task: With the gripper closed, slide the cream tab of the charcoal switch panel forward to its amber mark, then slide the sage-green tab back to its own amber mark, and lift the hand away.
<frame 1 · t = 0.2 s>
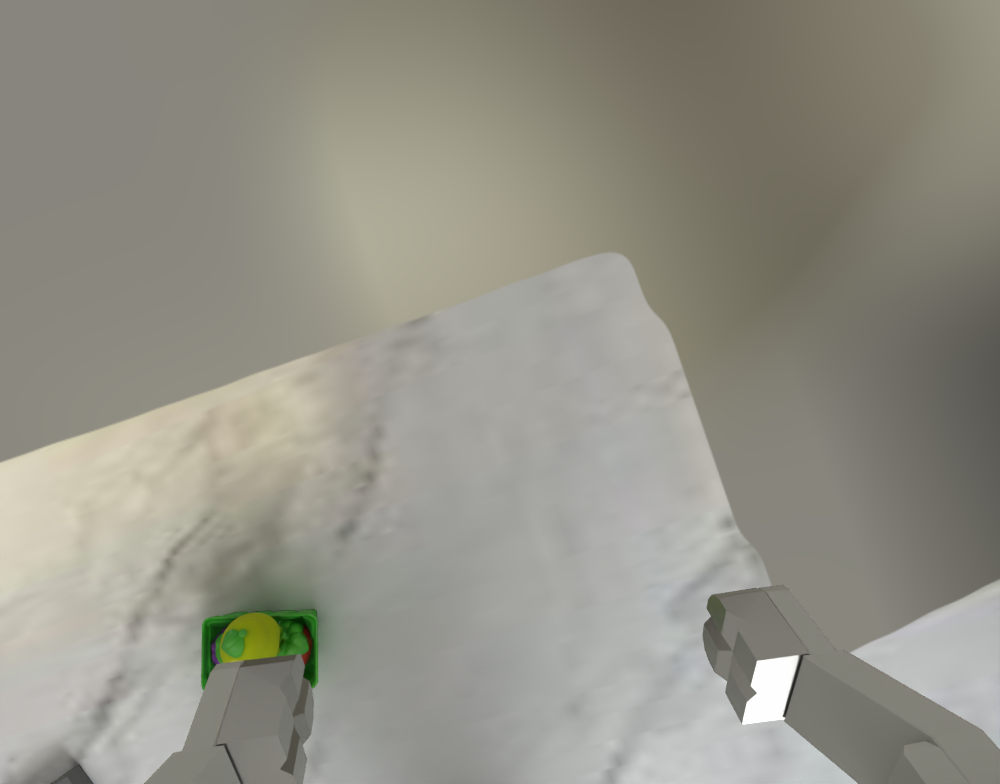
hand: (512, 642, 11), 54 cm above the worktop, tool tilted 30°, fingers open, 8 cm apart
fruit basket: (275, 627, 63), on the worktop
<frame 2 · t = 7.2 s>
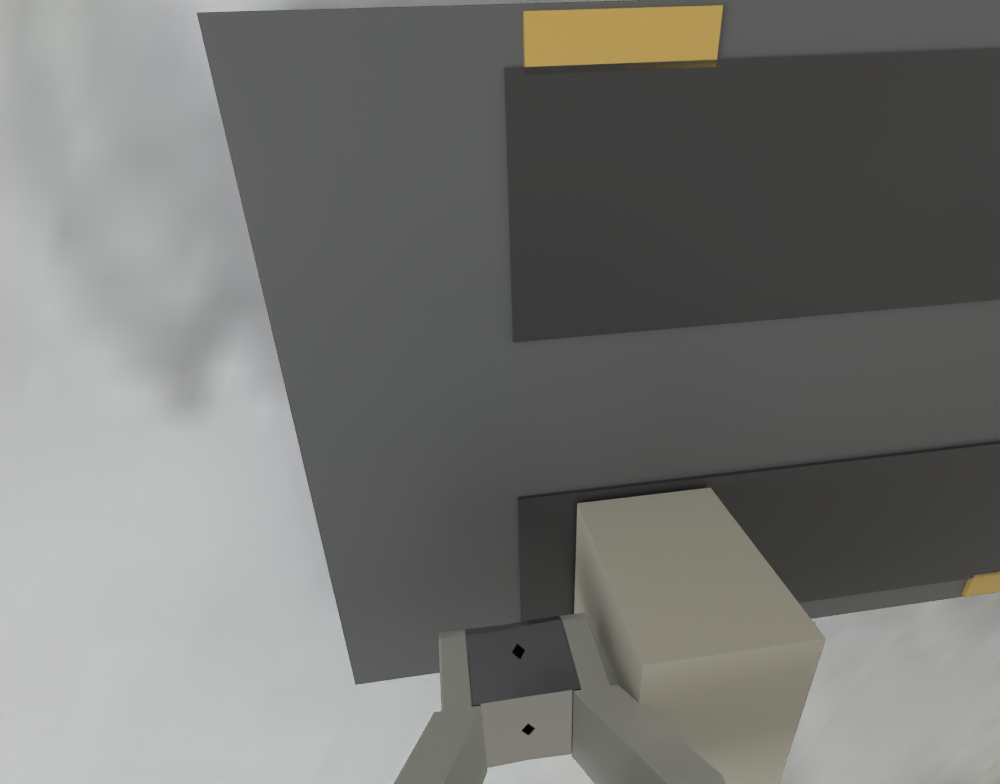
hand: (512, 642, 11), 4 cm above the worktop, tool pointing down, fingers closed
cream tab: (672, 634, 12), point 4 cm above the worktop, slide at 1.0 cm, touching gripper
switch panel: (818, 350, 14), on the worktop
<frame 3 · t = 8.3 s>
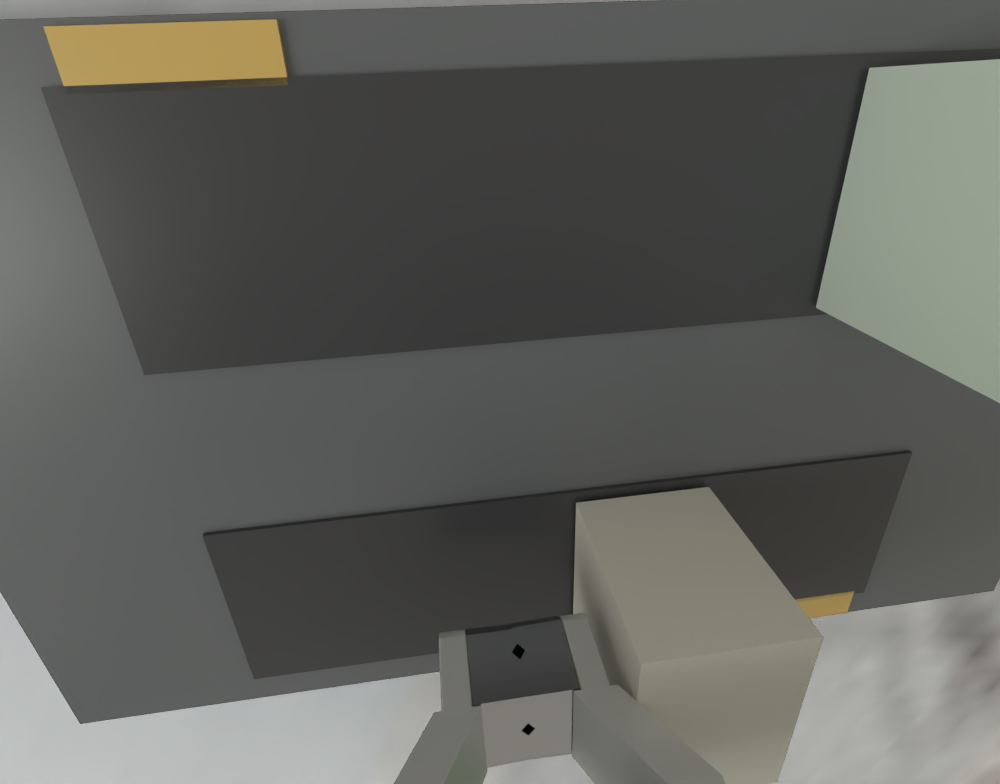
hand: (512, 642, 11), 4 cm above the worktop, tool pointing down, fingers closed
cream tab: (670, 633, 12), point 4 cm above the worktop, slide at 7.4 cm, touching gripper
switch panel: (558, 374, 13), on the worktop
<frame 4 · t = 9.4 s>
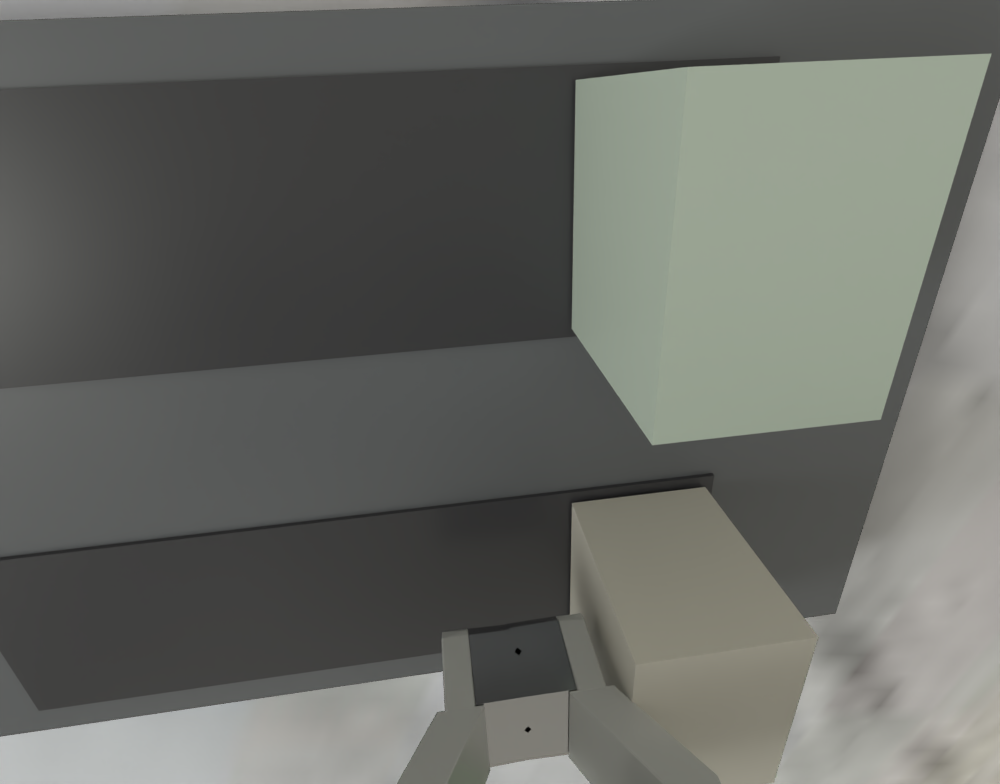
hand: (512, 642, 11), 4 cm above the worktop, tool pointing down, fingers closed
sage tab: (714, 234, 8), point 4 cm above the worktop, slide at 12.0 cm
cream tab: (666, 634, 12), point 4 cm above the worktop, slide at 12.1 cm, touching gripper
switch panel: (350, 395, 13), on the worktop
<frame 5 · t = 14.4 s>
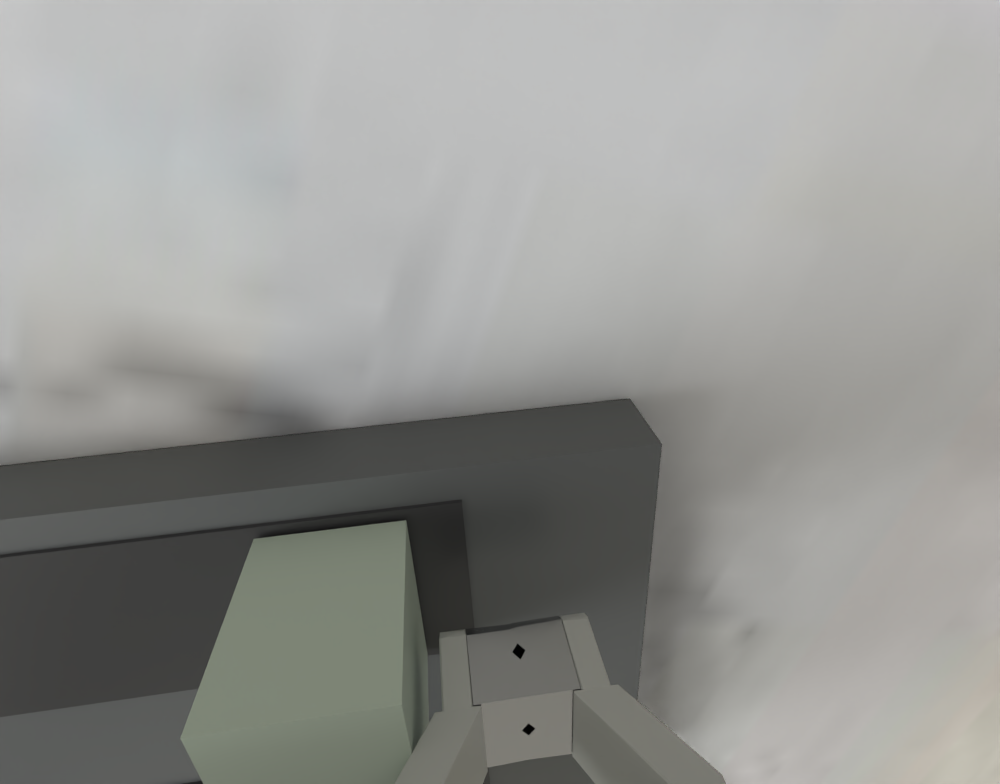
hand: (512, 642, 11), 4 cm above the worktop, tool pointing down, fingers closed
sage tab: (336, 684, 11), point 4 cm above the worktop, slide at 11.1 cm, touching gripper
switch panel: (191, 668, 16), on the worktop
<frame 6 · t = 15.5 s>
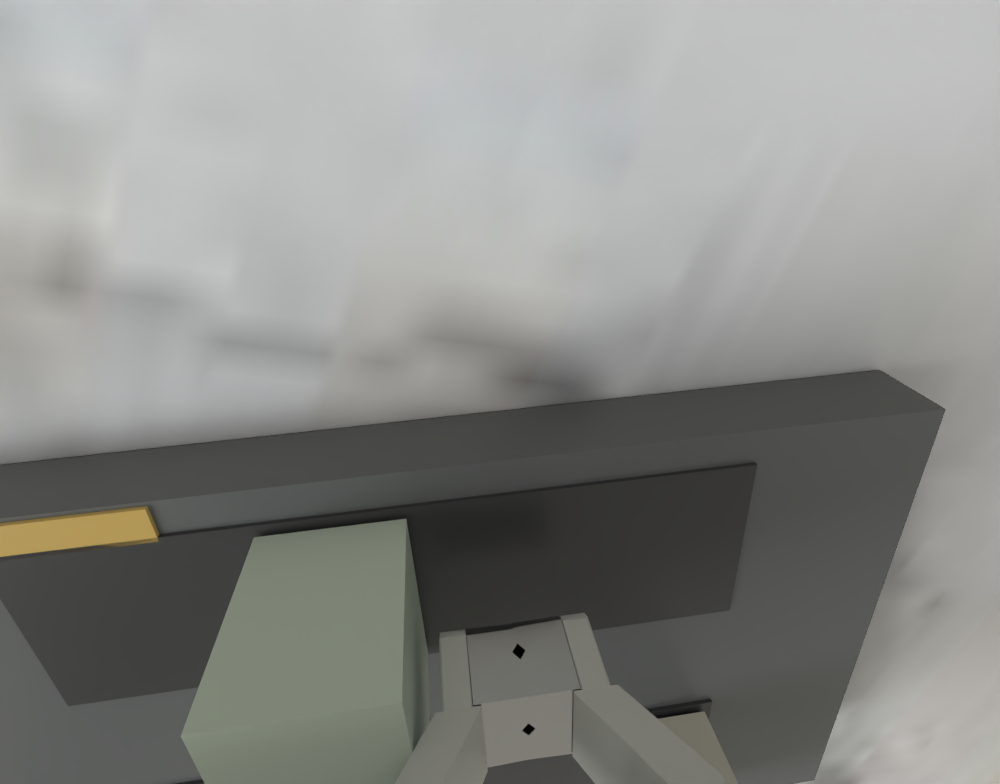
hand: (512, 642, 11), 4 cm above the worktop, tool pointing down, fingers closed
sage tab: (337, 682, 11), point 4 cm above the worktop, slide at 4.8 cm, touching gripper
switch panel: (423, 634, 16), on the worktop
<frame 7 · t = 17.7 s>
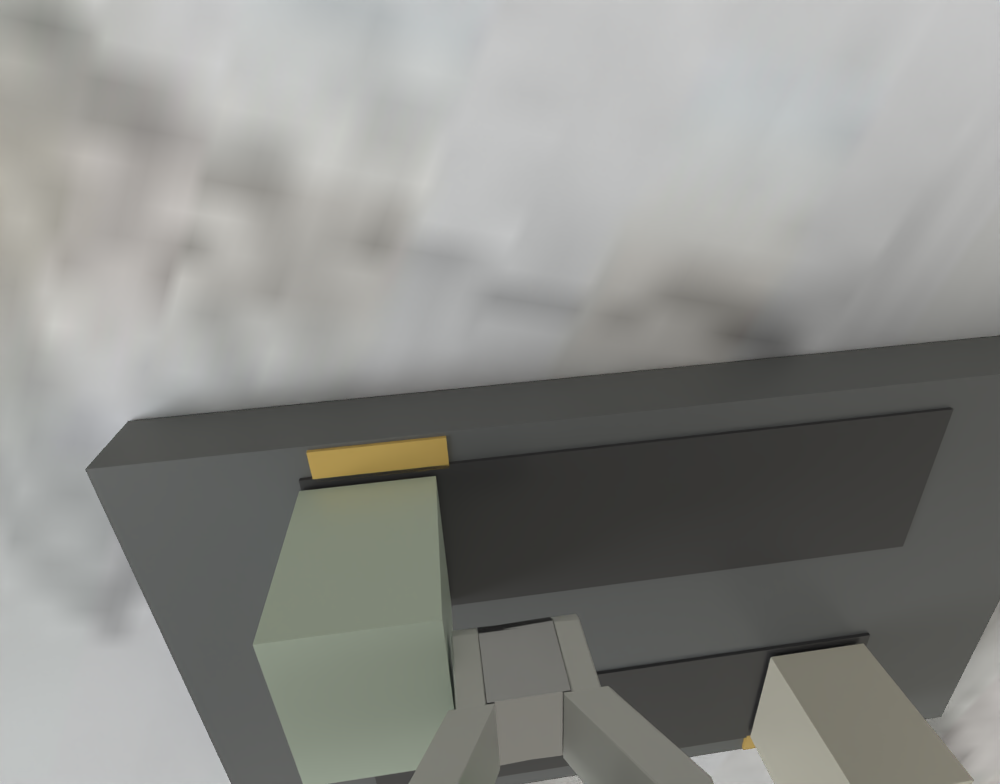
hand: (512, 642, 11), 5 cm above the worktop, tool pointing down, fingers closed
sage tab: (375, 619, 12), point 4 cm above the worktop, slide at -0.3 cm, touching gripper
cream tab: (844, 755, 17), point 4 cm above the worktop, slide at 12.1 cm
switch panel: (606, 573, 18), on the worktop
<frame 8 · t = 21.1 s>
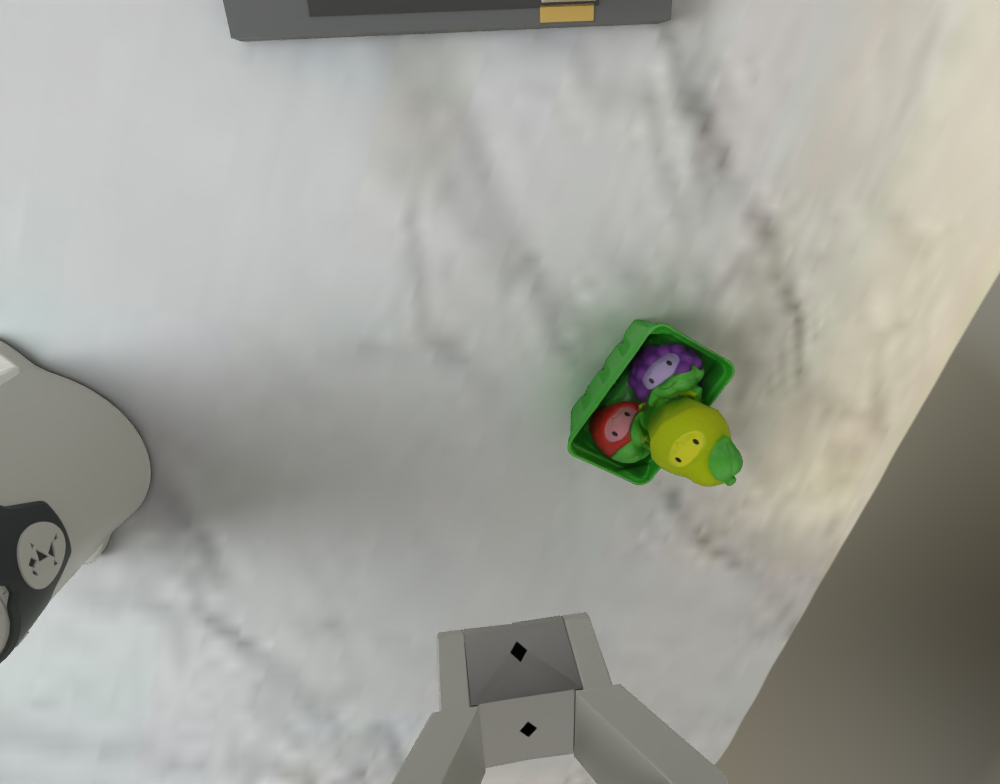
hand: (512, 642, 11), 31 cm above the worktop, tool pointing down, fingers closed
fruit basket: (632, 381, 46), on the worktop
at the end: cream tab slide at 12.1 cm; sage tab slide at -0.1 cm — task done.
